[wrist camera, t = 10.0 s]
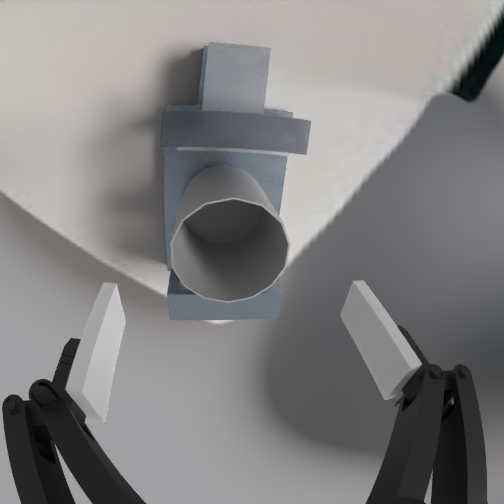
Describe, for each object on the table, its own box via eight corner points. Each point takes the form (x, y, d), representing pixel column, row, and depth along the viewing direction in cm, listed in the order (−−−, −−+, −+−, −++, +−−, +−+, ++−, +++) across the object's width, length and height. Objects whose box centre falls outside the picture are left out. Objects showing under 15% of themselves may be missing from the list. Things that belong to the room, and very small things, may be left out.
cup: (173, 232, 28) (162, 291, 20) (192, 156, 24) (183, 185, 16) (249, 248, 30) (267, 308, 22) (274, 178, 27) (307, 216, 18)
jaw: (174, 139, 23) (160, 152, 17) (181, 49, 19) (170, 28, 12) (279, 144, 25) (305, 160, 18) (289, 58, 21) (319, 43, 14)
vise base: (168, 265, 31) (159, 319, 24) (172, 48, 20) (156, 22, 12) (268, 265, 33) (287, 317, 26) (295, 58, 22) (334, 41, 14)
